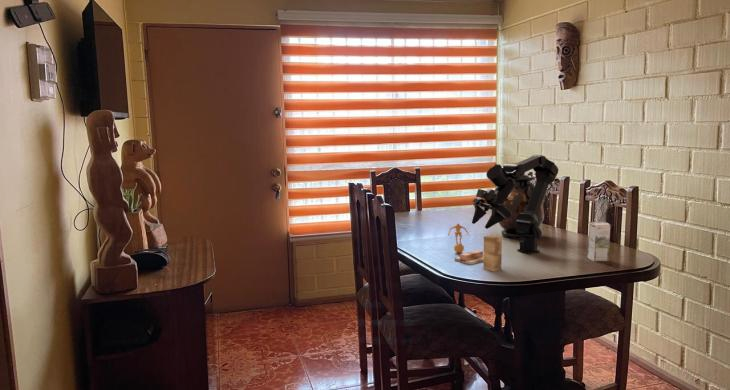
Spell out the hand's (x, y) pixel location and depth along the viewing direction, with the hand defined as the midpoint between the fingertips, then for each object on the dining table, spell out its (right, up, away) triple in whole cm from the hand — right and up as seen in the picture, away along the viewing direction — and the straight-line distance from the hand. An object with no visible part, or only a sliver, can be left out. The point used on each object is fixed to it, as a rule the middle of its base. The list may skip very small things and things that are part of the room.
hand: (479, 225), depth 206 cm
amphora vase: (+29, -8, +47) cm, 55 cm away
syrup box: (+46, -13, 0) cm, 47 cm away
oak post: (+3, -15, -10) cm, 18 cm away
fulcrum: (-2, -13, +4) cm, 14 cm away
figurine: (-5, -12, +17) cm, 21 cm away
